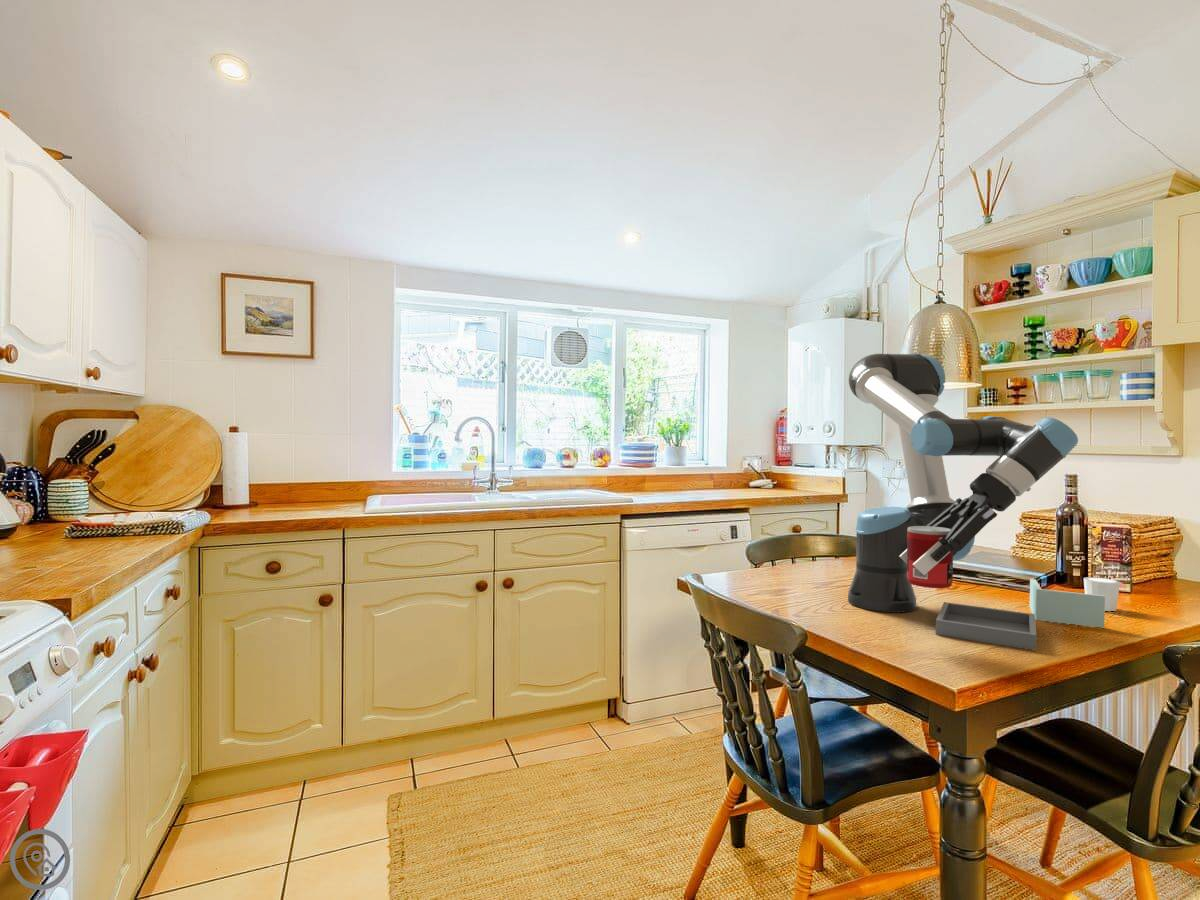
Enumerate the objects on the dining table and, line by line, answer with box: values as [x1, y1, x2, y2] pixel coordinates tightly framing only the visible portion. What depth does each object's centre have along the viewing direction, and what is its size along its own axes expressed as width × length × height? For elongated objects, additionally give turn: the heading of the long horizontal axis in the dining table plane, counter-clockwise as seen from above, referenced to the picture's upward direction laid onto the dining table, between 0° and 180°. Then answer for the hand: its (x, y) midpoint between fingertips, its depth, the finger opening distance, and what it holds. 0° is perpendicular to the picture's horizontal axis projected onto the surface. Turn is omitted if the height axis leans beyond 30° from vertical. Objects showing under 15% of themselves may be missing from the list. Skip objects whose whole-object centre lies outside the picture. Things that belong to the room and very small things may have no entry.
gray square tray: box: [935, 601, 1037, 651], centre depth 131 cm, size 17×17×3 cm
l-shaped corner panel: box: [1029, 578, 1106, 628], centre depth 141 cm, size 12×12×8 cm
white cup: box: [1083, 576, 1121, 612], centre depth 148 cm, size 7×7×7 cm
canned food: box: [907, 526, 954, 589], centre depth 123 cm, size 8×8×11 cm
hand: (911, 565), depth 123 cm, fingers closed on canned food, 8 cm apart
